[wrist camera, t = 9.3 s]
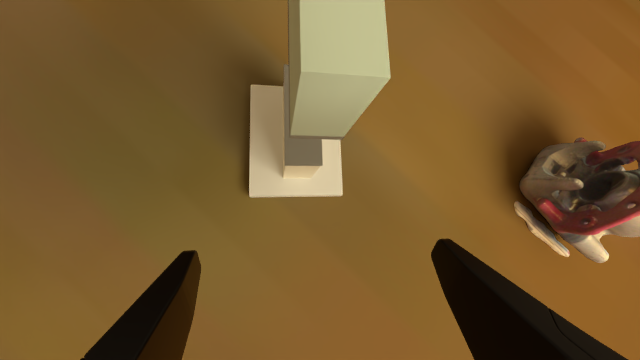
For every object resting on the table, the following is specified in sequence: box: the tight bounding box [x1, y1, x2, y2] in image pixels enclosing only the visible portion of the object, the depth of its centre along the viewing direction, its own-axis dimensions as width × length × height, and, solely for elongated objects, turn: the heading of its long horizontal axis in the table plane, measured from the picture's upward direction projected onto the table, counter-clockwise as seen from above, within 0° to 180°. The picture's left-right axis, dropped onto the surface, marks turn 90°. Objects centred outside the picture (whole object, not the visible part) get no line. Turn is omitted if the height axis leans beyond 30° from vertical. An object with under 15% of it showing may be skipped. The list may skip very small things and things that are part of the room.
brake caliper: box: [514, 138, 640, 263], centre depth 24 cm, size 11×11×12 cm
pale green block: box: [288, 0, 391, 140], centre depth 10 cm, size 7×2×5 cm, turn 1°
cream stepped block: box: [249, 64, 343, 197], centre depth 20 cm, size 10×8×6 cm
